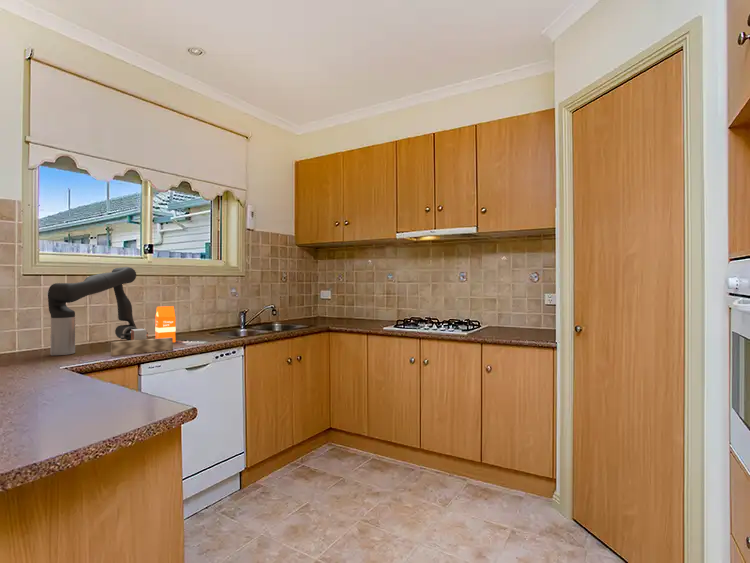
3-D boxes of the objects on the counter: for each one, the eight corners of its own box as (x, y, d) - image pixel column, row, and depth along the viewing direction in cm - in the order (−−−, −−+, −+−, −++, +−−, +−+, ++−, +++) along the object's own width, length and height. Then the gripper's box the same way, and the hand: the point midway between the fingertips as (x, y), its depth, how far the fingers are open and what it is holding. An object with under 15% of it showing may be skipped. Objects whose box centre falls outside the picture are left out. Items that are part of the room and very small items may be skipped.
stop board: (111, 355, 194) (111, 342, 194) (110, 354, 197) (110, 342, 197) (172, 350, 211) (172, 337, 211) (171, 349, 213) (171, 337, 213)
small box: (131, 350, 209) (130, 329, 209) (144, 349, 212) (143, 328, 212) (134, 352, 203) (133, 330, 202) (147, 351, 206) (146, 329, 206)
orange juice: (155, 341, 238) (155, 306, 238) (172, 340, 244) (172, 305, 244) (158, 343, 232) (158, 307, 232) (175, 342, 238) (175, 306, 238)
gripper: (117, 327, 222) (122, 330, 209) (145, 326, 231) (152, 329, 217) (117, 342, 222) (122, 346, 209) (145, 339, 231) (152, 343, 217)
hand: (137, 337), depth 213 cm, fingers closed
